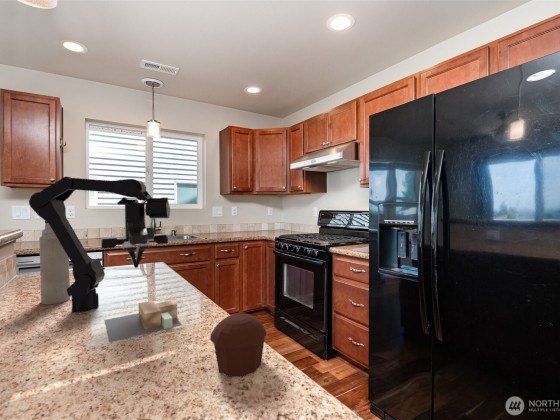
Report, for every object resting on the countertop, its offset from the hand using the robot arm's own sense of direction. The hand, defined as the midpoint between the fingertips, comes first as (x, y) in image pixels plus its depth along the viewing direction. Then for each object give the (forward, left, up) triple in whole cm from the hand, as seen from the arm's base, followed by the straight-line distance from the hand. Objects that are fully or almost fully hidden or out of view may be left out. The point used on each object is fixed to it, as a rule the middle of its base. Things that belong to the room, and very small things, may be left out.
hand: (136, 267), depth 94 cm
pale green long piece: (+4, -16, -12) cm, 20 cm away
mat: (-1, -16, -13) cm, 20 cm away
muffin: (+12, -49, -13) cm, 52 cm away
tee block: (+3, -16, -12) cm, 20 cm away
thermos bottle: (-22, +24, -13) cm, 35 cm away
